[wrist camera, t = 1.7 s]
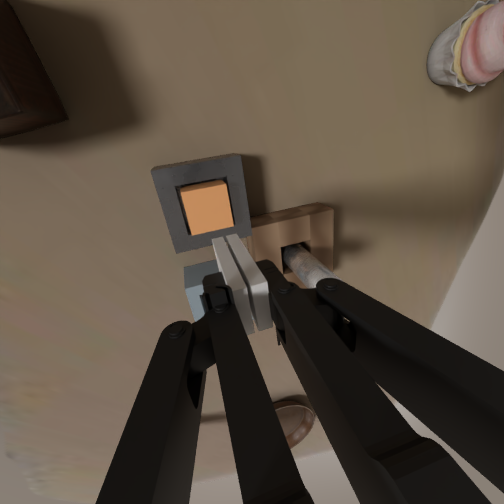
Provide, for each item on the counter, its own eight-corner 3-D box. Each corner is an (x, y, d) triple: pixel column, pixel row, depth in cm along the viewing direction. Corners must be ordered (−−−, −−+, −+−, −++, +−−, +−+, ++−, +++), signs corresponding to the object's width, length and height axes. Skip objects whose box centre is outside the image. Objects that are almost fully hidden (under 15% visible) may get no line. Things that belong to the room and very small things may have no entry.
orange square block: (221, 179, 30) (226, 183, 27) (228, 218, 32) (233, 226, 29) (180, 187, 29) (180, 192, 26) (190, 226, 31) (192, 235, 28)
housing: (232, 153, 32) (240, 155, 28) (244, 225, 36) (252, 235, 32) (154, 166, 30) (150, 170, 26) (176, 240, 35) (176, 253, 31)
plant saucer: (309, 384, 57) (316, 397, 54) (308, 428, 65) (314, 441, 62) (235, 409, 53) (238, 423, 51) (244, 453, 61) (247, 467, 58)
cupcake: (409, 99, 35) (486, 85, 27) (425, 13, 31) (521, -36, 23) (460, 96, 37) (546, 82, 29) (480, 15, 33) (588, -29, 25)
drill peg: (293, 233, 39) (352, 280, 26) (295, 252, 41) (351, 306, 28) (273, 238, 39) (323, 289, 25) (275, 257, 40) (323, 315, 27)
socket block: (317, 202, 38) (333, 209, 34) (318, 268, 43) (332, 281, 39) (243, 218, 36) (251, 228, 32) (254, 286, 41) (262, 301, 37)
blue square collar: (236, 254, 38) (246, 272, 33) (244, 296, 42) (254, 319, 36) (183, 267, 36) (184, 289, 31) (196, 310, 40) (199, 336, 35)
